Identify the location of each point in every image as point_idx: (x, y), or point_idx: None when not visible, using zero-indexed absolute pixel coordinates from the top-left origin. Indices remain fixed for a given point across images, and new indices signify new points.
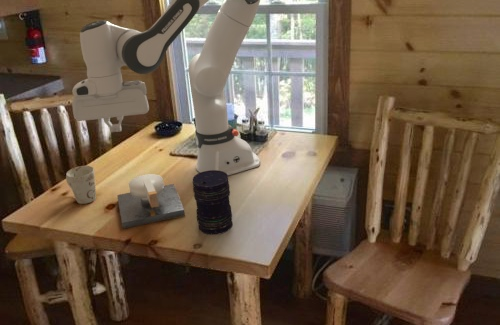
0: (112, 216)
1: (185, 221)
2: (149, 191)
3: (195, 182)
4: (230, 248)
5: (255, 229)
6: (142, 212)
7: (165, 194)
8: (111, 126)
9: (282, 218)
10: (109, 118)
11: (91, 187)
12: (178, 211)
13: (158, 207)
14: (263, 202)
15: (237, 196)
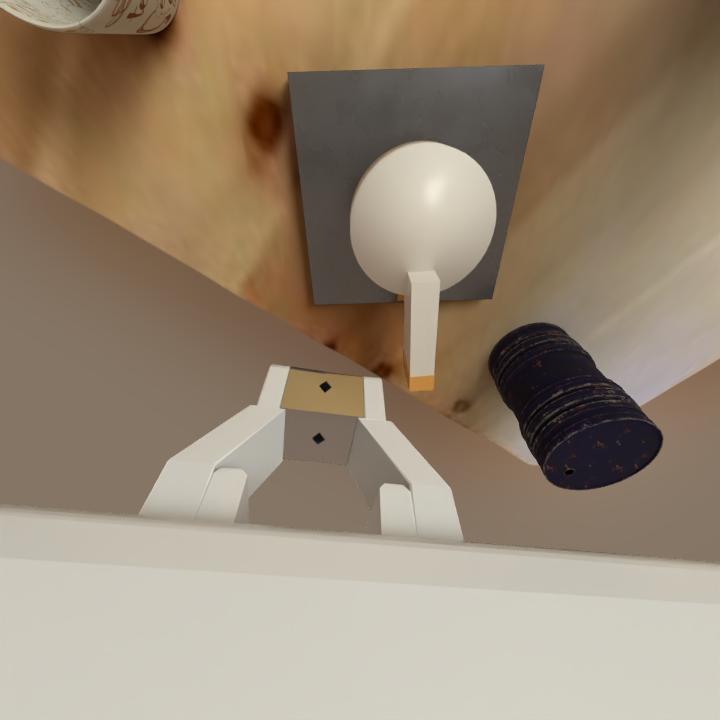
0: (279, 210)
1: (474, 318)
2: (414, 372)
3: (549, 462)
4: (510, 427)
5: None
6: None
7: None
8: (280, 462)
9: (662, 378)
10: (244, 512)
11: (148, 10)
12: (474, 298)
13: None
14: (695, 302)
15: (672, 240)
